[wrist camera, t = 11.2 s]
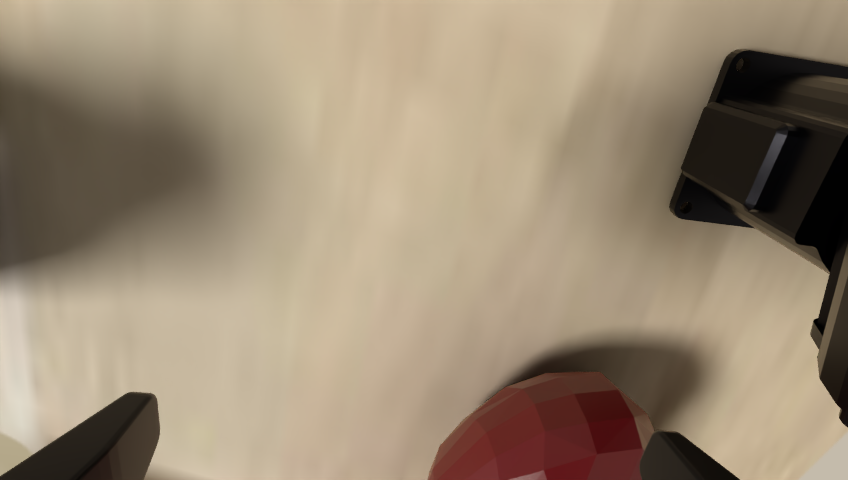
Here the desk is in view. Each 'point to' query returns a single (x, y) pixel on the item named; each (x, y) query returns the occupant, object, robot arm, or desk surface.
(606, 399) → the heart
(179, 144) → the desk surface
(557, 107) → the desk surface
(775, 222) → the robot arm
